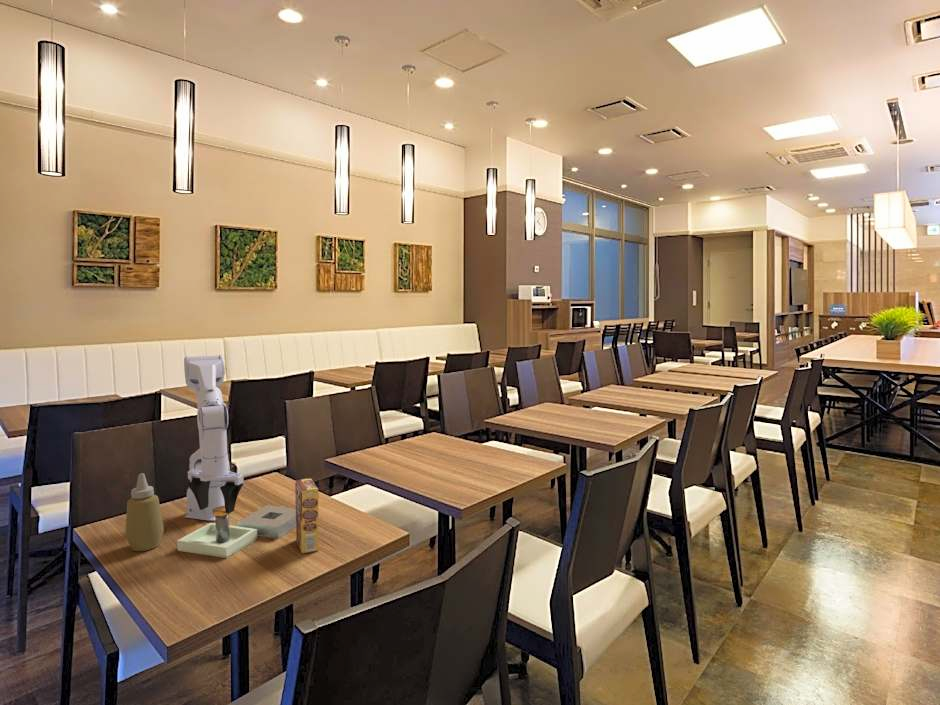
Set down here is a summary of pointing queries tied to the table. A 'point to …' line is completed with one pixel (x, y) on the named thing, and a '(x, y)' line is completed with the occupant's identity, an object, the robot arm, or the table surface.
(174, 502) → the table surface
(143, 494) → the squeeze bottle
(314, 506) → the candy box
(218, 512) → the copper-topped gray cylinder
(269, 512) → the block
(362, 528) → the table surface
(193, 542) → the tray
